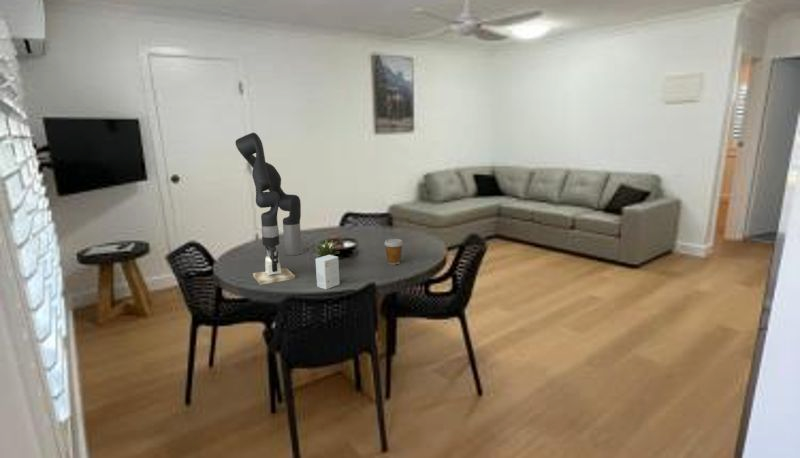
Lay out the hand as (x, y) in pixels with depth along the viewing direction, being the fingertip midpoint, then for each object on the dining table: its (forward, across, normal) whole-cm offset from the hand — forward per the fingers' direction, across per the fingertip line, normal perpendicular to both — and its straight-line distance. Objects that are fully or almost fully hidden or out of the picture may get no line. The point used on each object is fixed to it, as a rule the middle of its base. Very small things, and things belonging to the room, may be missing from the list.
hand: (273, 269), depth 209 cm
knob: (+2, 0, 0) cm, 2 cm away
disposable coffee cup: (+4, +10, +59) cm, 60 cm away
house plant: (+4, +6, +24) cm, 25 cm away
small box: (+4, +24, +18) cm, 30 cm away
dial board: (+4, 0, 0) cm, 4 cm away
